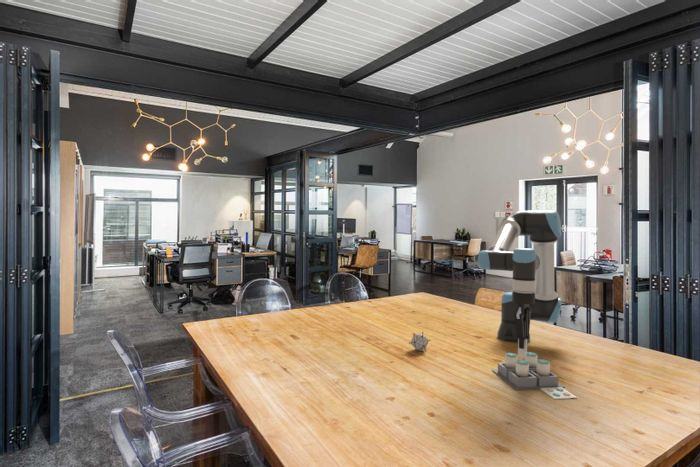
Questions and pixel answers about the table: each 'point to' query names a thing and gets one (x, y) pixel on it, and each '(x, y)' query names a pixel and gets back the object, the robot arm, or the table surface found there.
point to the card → (558, 393)
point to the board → (526, 379)
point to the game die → (419, 341)
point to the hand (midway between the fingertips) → (522, 356)
